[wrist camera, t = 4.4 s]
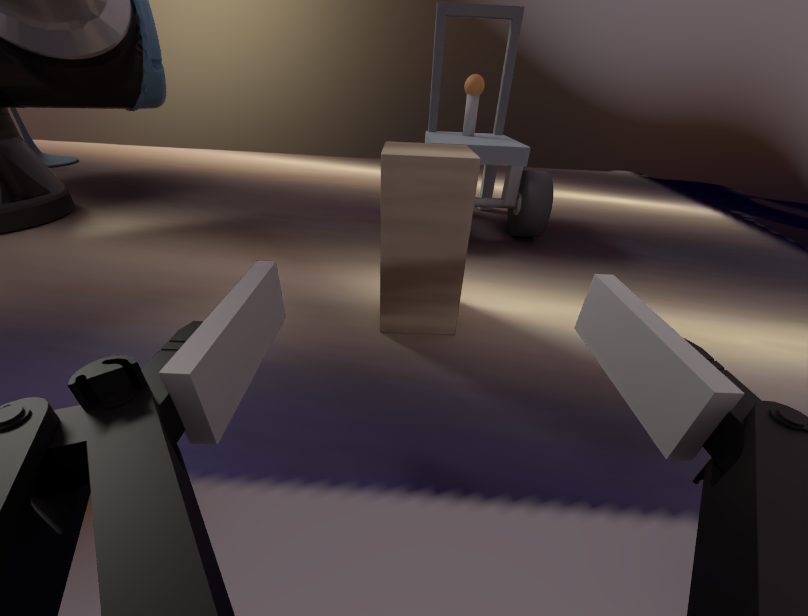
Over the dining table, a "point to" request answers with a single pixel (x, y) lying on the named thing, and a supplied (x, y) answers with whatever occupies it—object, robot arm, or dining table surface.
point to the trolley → (522, 188)
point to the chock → (424, 234)
